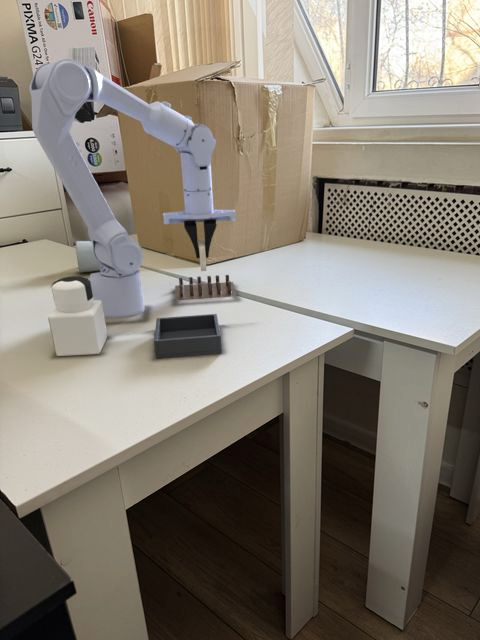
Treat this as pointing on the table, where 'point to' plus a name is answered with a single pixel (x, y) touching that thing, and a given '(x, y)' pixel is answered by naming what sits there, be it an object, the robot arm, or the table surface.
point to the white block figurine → (76, 318)
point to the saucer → (202, 255)
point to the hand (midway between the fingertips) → (202, 256)
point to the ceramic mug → (86, 257)
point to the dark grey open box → (187, 336)
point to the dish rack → (204, 289)
